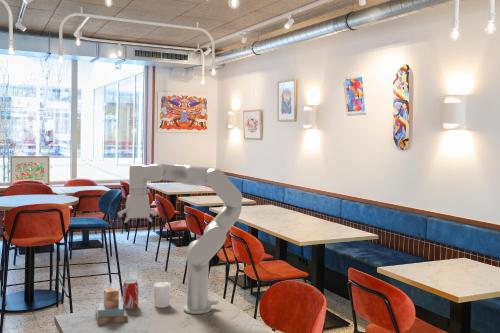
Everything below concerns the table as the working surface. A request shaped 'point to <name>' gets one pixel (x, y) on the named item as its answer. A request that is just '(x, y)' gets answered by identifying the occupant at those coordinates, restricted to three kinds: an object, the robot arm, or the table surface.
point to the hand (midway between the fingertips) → (137, 230)
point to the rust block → (111, 297)
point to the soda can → (130, 294)
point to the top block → (110, 310)
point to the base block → (112, 318)
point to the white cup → (161, 294)
